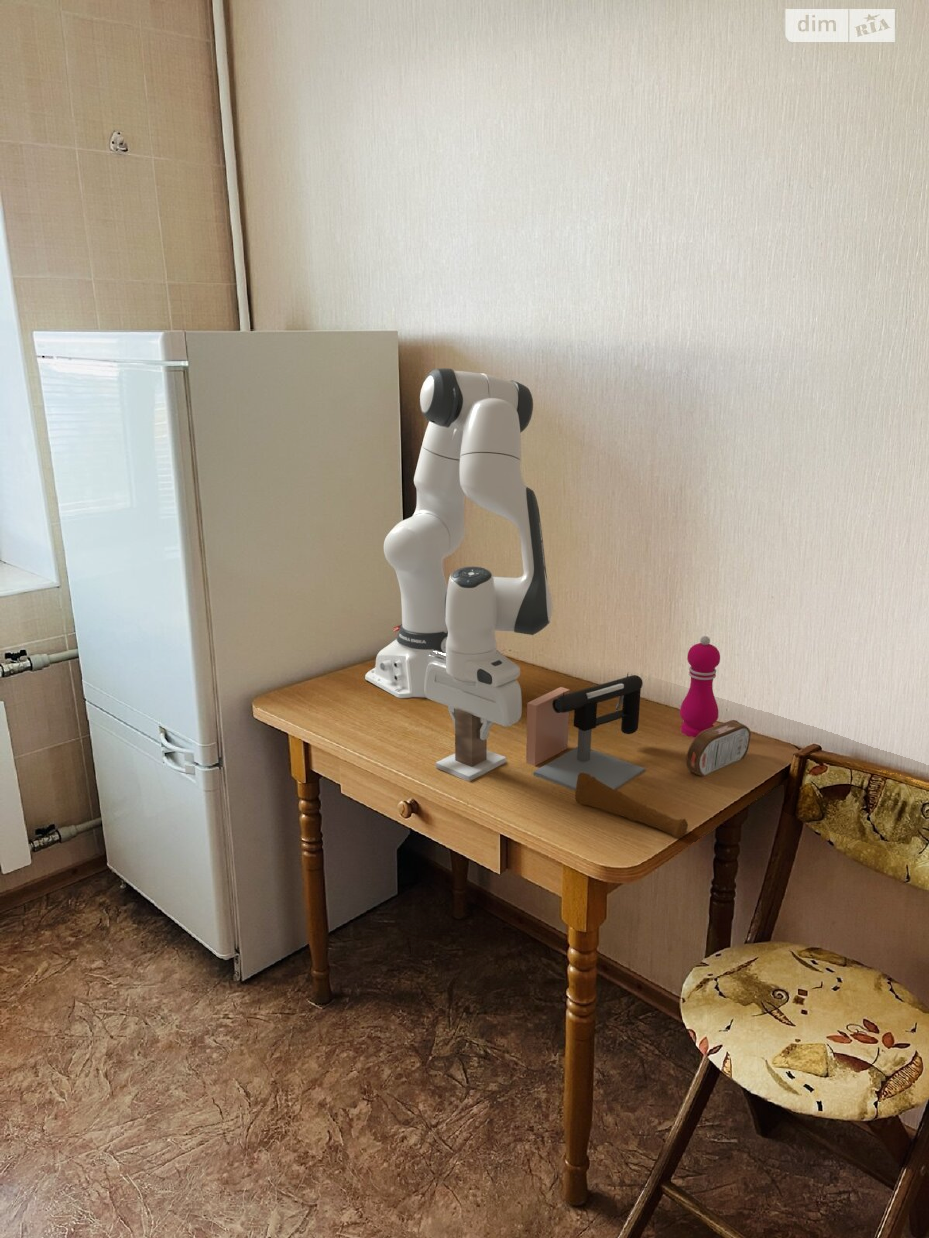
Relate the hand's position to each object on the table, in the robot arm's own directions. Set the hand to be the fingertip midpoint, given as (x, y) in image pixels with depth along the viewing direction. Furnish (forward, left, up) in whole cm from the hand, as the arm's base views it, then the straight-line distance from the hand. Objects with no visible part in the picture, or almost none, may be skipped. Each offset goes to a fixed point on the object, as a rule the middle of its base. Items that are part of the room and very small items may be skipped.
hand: (471, 733), depth 165 cm
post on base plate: (0, 0, -6) cm, 6 cm away
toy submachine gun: (+16, +17, -7) cm, 24 cm away
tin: (+34, +28, -6) cm, 45 cm away
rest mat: (+18, +11, -6) cm, 22 cm away
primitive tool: (+30, +2, -8) cm, 31 cm away
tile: (+8, +12, -6) cm, 16 cm away
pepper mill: (+24, +39, -6) cm, 46 cm away
